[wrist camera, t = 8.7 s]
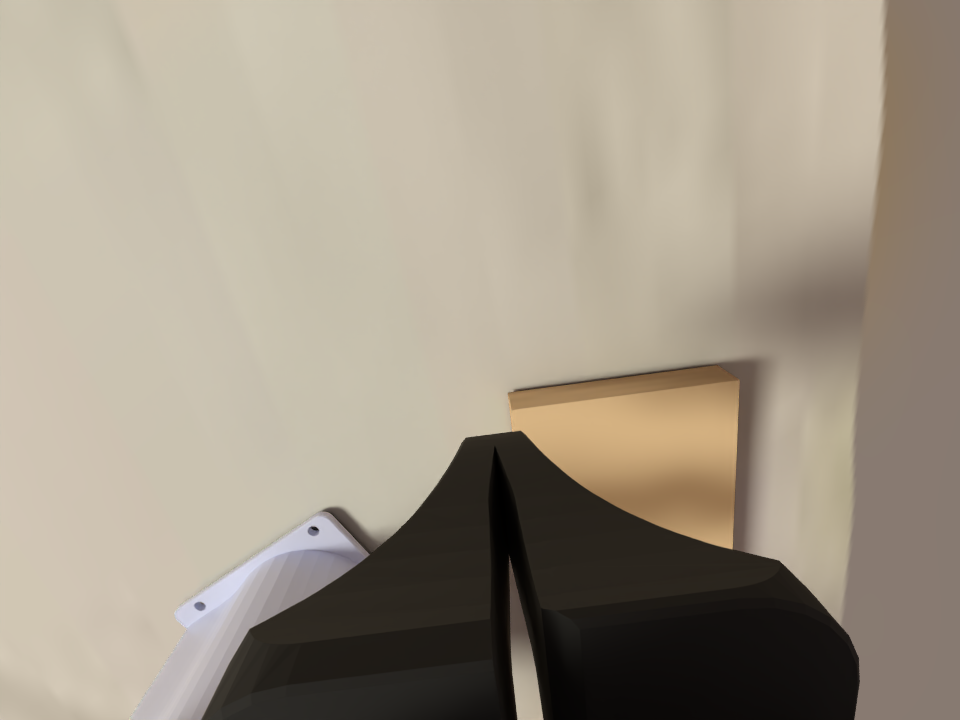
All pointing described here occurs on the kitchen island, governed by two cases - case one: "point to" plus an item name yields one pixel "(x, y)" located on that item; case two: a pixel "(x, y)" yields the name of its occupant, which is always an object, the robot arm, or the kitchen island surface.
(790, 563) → the kitchen island surface
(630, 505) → the oak plank
